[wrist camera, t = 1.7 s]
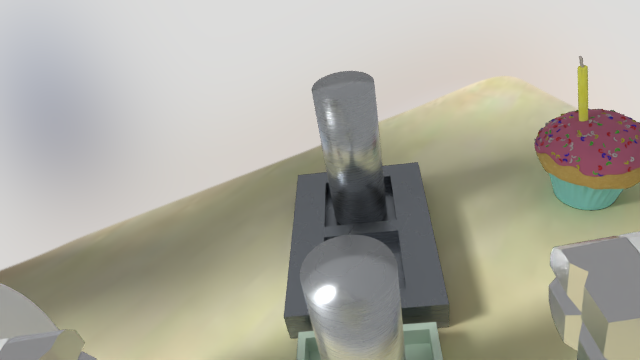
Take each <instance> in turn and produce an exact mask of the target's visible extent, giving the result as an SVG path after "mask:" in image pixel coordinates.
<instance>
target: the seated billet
mask: <svg viewBox="0 0 640 360" xmlns="http://www.w3.org/2000/svg"><path fill="white" fill-rule="evenodd" d="M312 94H313V100H314V105H315V111H316V116H317V122H318V127H319V133H320V138H321V144H322V149H323V154H324V160H325V165H326V171H327V176H328V182H329V187H330V193H331V198H332V204H333V209H334V214H335V218H336V220H337V221H338V222H339V223H340V224H341V225H349V224H359V223H370V222H380V221H381V220H382V219H383V218H384V217H385V215H386V212H387V206H386V196H385V186H384V176H383V166H382V156H381V146H380V136H379V126H378V116H377V106H376V97H375V86H374V80H373V78H372V77H371V76H370V75H368V74H366V73H363V72H357V71H345V72H338V73H333V74H330V75H327V76H325V77H323V78H321V79H319V80H318V81H317V82H316V83H315V84H314V85H313V87H312Z"/></svg>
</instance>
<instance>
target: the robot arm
mask: <svg viewBox="0 0 640 360" xmlns="http://www.w3.org/2000/svg"><path fill="white" fill-rule="evenodd" d="M550 266H551V268H552V270H553V272H554V273H555V275H556V278H555V279H554V280H553V281H552V283H551V284H550V285H549V304H550V308H551V313H552V318H553V320H554V323H555V326H556V328H557V330H558V332H559V334H560V336H561V338H562V340H563V342H564V343H565V344H567V345H568V346H570V347H571V348H573V349H574V350H576V351H578V352H577V360H640V231H639V232H634V233H628V234H623V235H619V236H612V237H607V238H601V239H595V240H590V241H584V242H578V243H573V244H567V245H562V246H556V247H553V249H552V252H551V256H550ZM84 344H85V342H84V340H83V339H82V338H81V336H80V335H79V334H78V333H77V331H76V330H67V329H65V330H58V331H51V332H44V333H37V334H30V335H23V336H16V337H14V338H6V339H0V360H97V359H96V358H94V357H92V356H90V355H88V354H86V353H84V352H83V348H84Z"/></svg>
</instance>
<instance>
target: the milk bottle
mask: <svg viewBox="0 0 640 360" xmlns="http://www.w3.org/2000/svg"><path fill="white" fill-rule="evenodd" d="M58 330H59V329H58V328H57V327H56V326H55V324H54V323H53V322H52V321H51V320H50V319H49V317H48V316H47V315H46V314H45V313H44V312H43V311H42V310H41V309H40V308H39V307H38V306H37V305H36V304H35V303H33V302H32V301H31V300H30V299H28V298H27V297H25V296H24V295H23V294H21V293H19V292H18V291H16V290H14V289H12V288H10V287H8V286H6V285H4V284H1V283H0V339H6V338H14V337H16V336H23V335H30V334H37V333H44V332H51V331H58Z"/></svg>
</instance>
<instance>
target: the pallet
mask: <svg viewBox="0 0 640 360" xmlns="http://www.w3.org/2000/svg"><path fill="white" fill-rule="evenodd" d="M383 176H384V186H385V196H386V206H387V212H386V215H385V217H384V218H383V219H382V220H381V221H380V222H370V223H359V224H349V225H341V224H340V223H339V222H338V221H337V220H336V218H335V214H334V209H333V204H332V198H331V193H330V187H329V182H328V176H327V172H324V173H315V174H305V175H298V183H297V192H296V202H295V212H294V222H293V232H292V242H291V252H290V262H289V271H288V281H287V291H286V301H285V311H284V319H285V322H286V325H287V329H288V332H289V335H290V338H298V333H299V332H306V331H313V327H312V323H311V319H310V316H309V312H308V308H307V304H306V301H305V297H304V293H303V289H302V285H301V281H300V269H301V266H302V263H303V261H304V259H305V258H306V256H307V255H308V254H309V252H310V251H311V250H313V249H314V248H315V247H316V246H318V245H319V244H321V243H322V242H324V241H326V240H329V239H331V238H334V237H338V236H343V235H364V236H368V237H372V238H374V239H377V240H379V241H381V242H382V243H384V244H385V245H386V246H387V247H389V249H390V250H391V251H392V252H393V254H394V256H395V258H396V261H397V268H398V279H399V289H400V300H401V311H402V322H403V324H415V323H429V322H436V325H437V328H441V327H449V302H448V297H447V293H446V288H445V283H444V279H443V274H442V270H441V265H440V261H439V256H438V252H437V247H436V242H435V238H434V233H433V229H432V224H431V220H430V215H429V210H428V206H427V201H426V197H425V192H424V188H423V183H422V179H421V174H420V169H419V165H418V162H415V163H406V164H397V165H388V166H383Z"/></svg>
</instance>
